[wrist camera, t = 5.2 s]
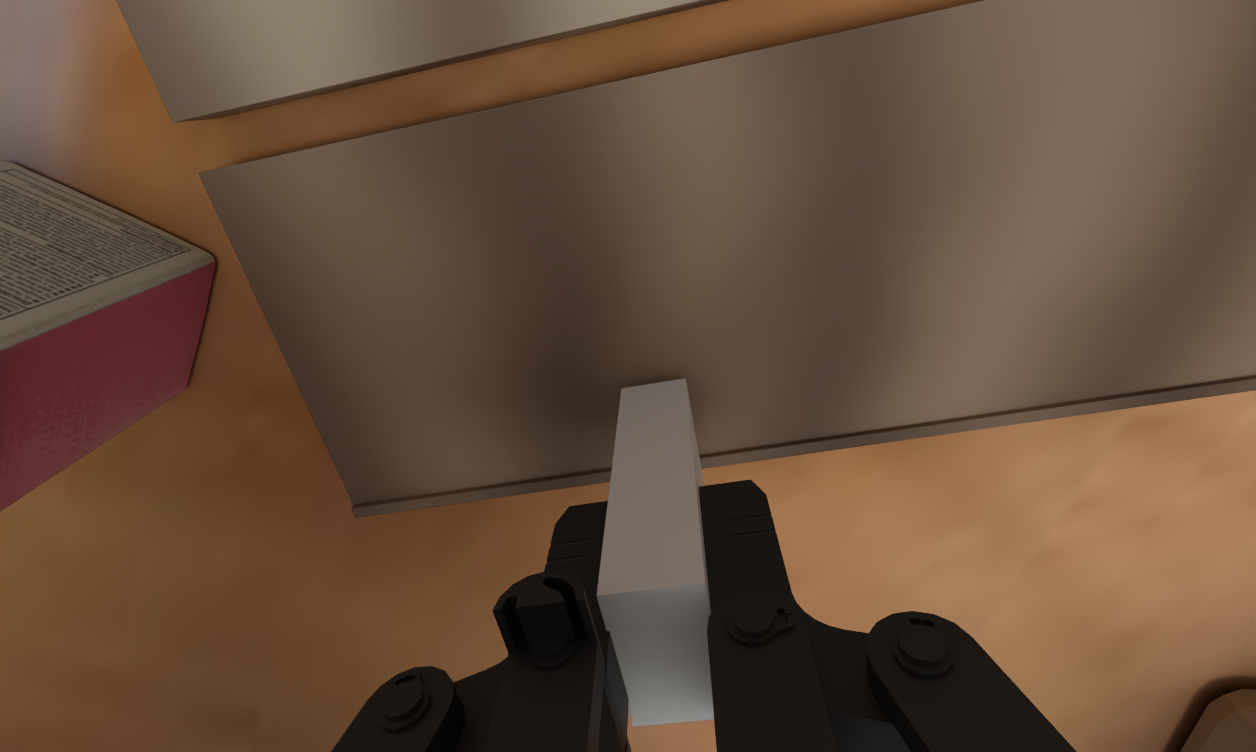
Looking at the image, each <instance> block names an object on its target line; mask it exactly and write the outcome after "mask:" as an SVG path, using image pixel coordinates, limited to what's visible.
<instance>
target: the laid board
mask: <svg viewBox="0 0 1256 752" xmlns="http://www.w3.org/2000/svg"><path fill="white" fill-rule="evenodd" d="M116 1H117V3H118V5H119V7H120V10H121V12H122V14H123V16H124V18H125V20H126V22H127V25H128V27H129V29H130V31H131V33H132V35H133V38H134V40H135V42H136V44H137V46H138V48H139V50H140V53H141V55H142V57H143V59H144V61H145V63H146V66H147V68H148V70H149V72H150V74H151V76H152V78H153V81H154V83H155V85H156V87H157V89H158V91H159V94H160V96H161V98H162V100H163V102H164V104H165V106H166V109H167V111H168V113H169V115H170V117H171V119H172V122H182V121H193V120H205V119H214V118H219V117H223V116H227V115H232V114H236V113H240V112H245V111H249V110H254V109H258V108H262V107H267V106H271V105H275V104H280V103H284V102H288V101H293V100H297V99H301V98H306V97H310V96H314V95H319V94H323V93H327V92H332V91H336V90H340V89H345V88H349V87H353V86H358V85H362V84H366V83H371V82H375V81H379V80H384V79H388V78H392V77H397V76H401V75H406V74H410V73H414V72H419V71H423V70H427V69H432V68H436V67H440V66H445V65H449V64H453V63H458V62H462V61H466V60H471V59H475V58H479V57H484V56H488V55H492V54H497V53H501V52H505V51H510V50H514V49H518V48H523V47H527V46H531V45H536V44H540V43H544V42H549V41H553V40H558V39H562V38H566V37H571V36H575V35H579V34H584V33H588V32H592V31H597V30H601V29H605V28H610V27H614V26H618V25H623V24H627V23H631V22H636V21H640V20H644V19H649V18H653V17H657V16H662V15H666V14H670V13H675V12H679V11H683V10H688V9H692V8H696V7H701V6H705V5H710V4H714V3H718V2H723V1H727V0H116Z"/></svg>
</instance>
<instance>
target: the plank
mask: <svg viewBox="0 0 1256 752" xmlns="http://www.w3.org/2000/svg"><path fill="white" fill-rule="evenodd" d="M198 174H199V176H200V178H201V180H202V182H203V185H204V187H205V189H206V191H207V193H208V195H209V197H210V199H211V202H212V204H213V206H214V208H215V210H216V212H217V214H218V217H219V219H220V221H221V223H222V225H223V227H224V229H225V231H226V234H227V236H228V238H229V240H230V242H231V244H232V246H233V249H234V251H235V253H236V255H237V257H238V259H239V261H240V264H241V266H242V268H243V270H244V272H245V274H246V276H247V278H248V281H249V283H250V285H251V287H252V289H253V291H254V293H255V296H256V298H257V300H258V302H259V304H260V306H261V308H262V310H263V313H264V315H265V317H266V319H267V321H268V323H269V325H270V328H271V330H272V332H273V334H274V336H275V338H276V340H277V343H278V345H279V347H280V349H281V351H282V353H283V355H284V357H285V360H286V362H287V364H288V366H289V368H290V370H291V372H292V375H293V377H294V379H295V381H296V383H297V385H298V387H299V389H300V392H301V394H302V396H303V398H304V400H305V402H306V404H307V407H308V409H309V411H310V413H311V415H312V417H313V419H314V422H315V424H316V426H317V428H318V430H319V432H320V434H321V436H322V439H323V441H324V443H325V445H326V447H327V449H328V451H329V454H330V456H331V458H332V460H333V462H334V464H335V466H336V468H337V471H338V473H339V475H340V477H341V479H342V481H343V483H344V486H345V488H346V490H347V492H348V494H349V496H350V498H351V501H352V503H353V505H354V506H353V507H352V508H351V509H352V511H353V513H354V516H355V518H357V517H364V516H371V515H378V514H386V513H393V512H400V511H407V510H414V509H421V508H428V507H435V506H442V505H449V504H456V503H463V502H470V501H477V500H484V499H491V498H498V497H505V496H512V495H520V494H527V493H534V492H541V491H548V490H555V489H562V488H569V487H576V486H583V485H590V484H597V483H604V482H610V480H611V471H612V463H613V455H614V446H615V438H616V429H617V421H618V413H619V404H620V396H621V388H627V387H634V386H640V385H646V384H653V383H659V382H665V381H672V380H678V379H684V378H686V382H687V388H688V394H689V400H690V405H691V411H692V417H693V423H694V428H695V434H696V440H697V446H698V451H699V457H700V463H701V468H702V469H703V468H710V467H717V466H724V465H731V464H738V463H745V462H752V461H759V460H766V459H773V458H781V457H788V456H795V455H802V454H809V453H816V452H823V451H830V450H837V449H844V448H851V447H858V446H865V445H872V444H879V443H886V442H893V441H900V440H907V439H915V438H922V437H929V436H936V435H943V434H950V433H957V432H964V431H971V430H978V429H985V428H992V427H999V426H1006V425H1013V424H1020V423H1027V422H1034V421H1041V420H1049V419H1056V418H1063V417H1070V416H1077V415H1084V414H1091V413H1098V412H1105V411H1112V410H1119V409H1126V408H1133V407H1140V406H1147V405H1154V404H1161V403H1168V402H1175V401H1183V400H1190V399H1197V398H1204V397H1211V396H1218V395H1225V394H1232V393H1239V392H1246V391H1253V390H1256V0H983V1H979V2H974V3H970V4H965V5H961V6H956V7H952V8H947V9H942V10H938V11H933V12H929V13H924V14H920V15H915V16H911V17H906V18H901V19H897V20H892V21H888V22H883V23H879V24H874V25H870V26H865V27H860V28H856V29H851V30H847V31H842V32H838V33H833V34H829V35H824V36H819V37H815V38H810V39H806V40H801V41H797V42H792V43H788V44H783V45H778V46H774V47H769V48H765V49H760V50H756V51H751V52H747V53H742V54H737V55H733V56H728V57H724V58H719V59H715V60H710V61H706V62H701V63H696V64H692V65H687V66H683V67H678V68H674V69H669V70H665V71H660V72H655V73H651V74H646V75H642V76H637V77H633V78H628V79H624V80H619V81H614V82H610V83H605V84H601V85H596V86H592V87H587V88H583V89H578V90H573V91H569V92H564V93H560V94H555V95H551V96H546V97H542V98H537V99H533V100H528V101H523V102H519V103H514V104H510V105H505V106H501V107H496V108H492V109H487V110H482V111H478V112H473V113H469V114H464V115H460V116H455V117H451V118H446V119H441V120H437V121H432V122H428V123H423V124H419V125H414V126H410V127H405V128H400V129H396V130H391V131H387V132H382V133H378V134H373V135H369V136H364V137H359V138H355V139H350V140H346V141H341V142H337V143H332V144H328V145H323V146H318V147H314V148H309V149H305V150H300V151H296V152H291V153H287V154H282V155H277V156H273V157H268V158H264V159H259V160H255V161H250V162H246V163H241V164H236V165H232V166H227V167H223V168H218V169H214V170H209V171H205V172H200V173H198Z"/></svg>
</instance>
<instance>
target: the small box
mask: <svg viewBox="0 0 1256 752" xmlns="http://www.w3.org/2000/svg"><path fill="white" fill-rule="evenodd" d="M215 264H216V263H215V259H214V258H213V256H212V255H211V254H209V253H208V252H206V251H204V250H202V249H200V248H198V247H196V246H193V245H191V244H189V243H187V242H185V241H183V240H181V239H179V238H177V237H175V236H173V235H171V234H169V233H166V232H164V231H162V230H160V229H158V228H156V227H153V226H151V225H149V224H147V223H145V222H143V221H141V220H139V219H136V218H134V217H132V216H129V215H127V214H125V213H123V212H121V211H119V210H117V209H114V208H112V207H110V206H107V205H105V204H103V203H101V202H99V201H96V200H94V199H92V198H90V197H88V196H86V195H83V194H81V193H79V192H77V191H75V190H72V189H70V188H68V187H66V186H63V185H61V184H59V183H57V182H54V181H52V180H50V179H47V178H45V177H43V176H41V175H38V174H36V173H34V172H31V171H29V170H27V169H25V168H23V167H21V166H18V165H16V164H14V163H11V162H7V161H0V511H2V510H3V509H5V508H6V507H8V506H9V505H11V504H12V503H14V502H15V501H17V500H19V499H20V498H21V497H23V496H24V495H26V494H27V493H29V492H30V491H32V490H34V489H35V488H36V487H38V486H39V485H41V484H42V483H44V482H45V481H47V480H48V479H50V478H51V477H53V476H54V475H56V474H58V473H59V472H61V471H62V470H64V469H65V468H67V467H68V466H70V465H71V464H73V463H74V462H76V461H78V460H79V459H81V458H82V457H84V456H85V455H87V454H88V453H90V452H91V451H93V450H94V449H96V448H97V447H99V446H100V445H102V444H103V443H105V442H106V441H108V440H109V439H111V438H112V437H114V436H115V435H117V434H118V433H120V432H121V431H123V430H124V429H126V428H127V427H129V426H130V425H132V424H133V423H135V422H137V421H138V420H140V419H141V418H143V417H144V416H146V415H147V414H149V413H150V412H152V411H153V410H155V409H156V408H158V407H159V406H161V405H162V404H164V403H166V402H167V401H169V400H170V399H172V398H173V397H174V396H176V395H177V394H179V393H180V392H181V391H183V390H184V389H185V388H186V386H187V383H188V379H189V376H190V371H191V367H192V364H193V360H194V356H195V353H196V349H197V345H198V341H199V337H200V333H201V329H202V325H203V321H204V316H205V311H206V307H207V302H208V299H209V293H210V288H211V283H212V279H213V274H214V270H215Z"/></svg>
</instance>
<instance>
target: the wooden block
mask: <svg viewBox="0 0 1256 752" xmlns="http://www.w3.org/2000/svg"><path fill="white" fill-rule="evenodd" d="M1180 752H1256V690H1254V689H1240V690H1237V691H1234V692H1231V693H1228V694H1225V695H1223V696H1221V697H1219V698H1217V699H1216V700H1214V701H1212V702H1210V703H1209V704H1208V706H1207V707H1206V709H1205V711H1204V713H1203V714H1202V716H1201V718H1200V719H1199V721H1198V723H1197V724H1196V726H1195V728H1194V729H1193V731H1192V733H1191V734H1190V736H1189V738H1188V739H1187V741H1186V743H1185V744H1184V746H1183V748H1182V749H1181V751H1180Z"/></svg>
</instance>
